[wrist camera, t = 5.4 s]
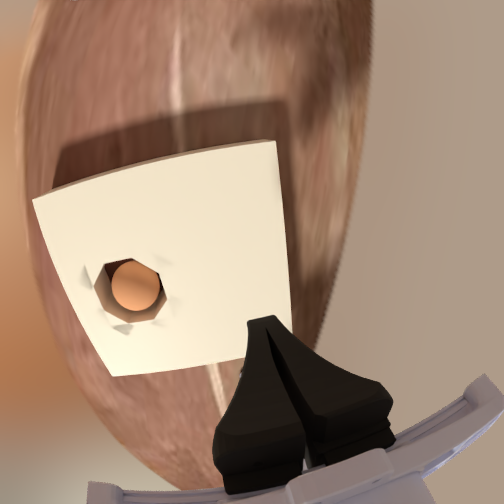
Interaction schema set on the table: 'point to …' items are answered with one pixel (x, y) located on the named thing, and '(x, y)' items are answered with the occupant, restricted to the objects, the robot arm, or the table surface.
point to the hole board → (174, 253)
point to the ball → (135, 286)
